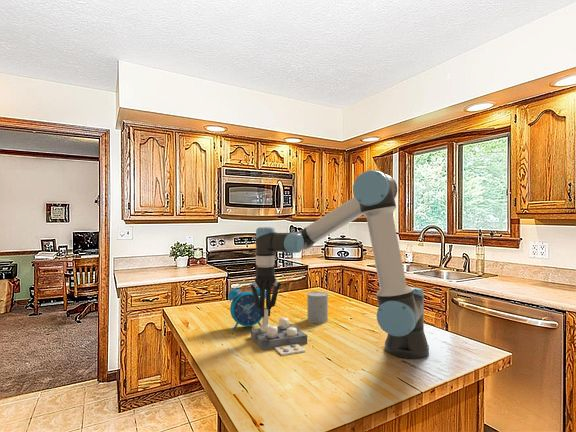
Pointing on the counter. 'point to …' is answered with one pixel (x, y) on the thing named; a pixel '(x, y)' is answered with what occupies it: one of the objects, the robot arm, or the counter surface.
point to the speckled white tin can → (317, 307)
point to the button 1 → (263, 328)
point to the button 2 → (272, 331)
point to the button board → (278, 338)
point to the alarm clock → (244, 307)
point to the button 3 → (284, 323)
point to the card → (289, 349)
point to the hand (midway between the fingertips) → (265, 324)
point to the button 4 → (291, 331)
